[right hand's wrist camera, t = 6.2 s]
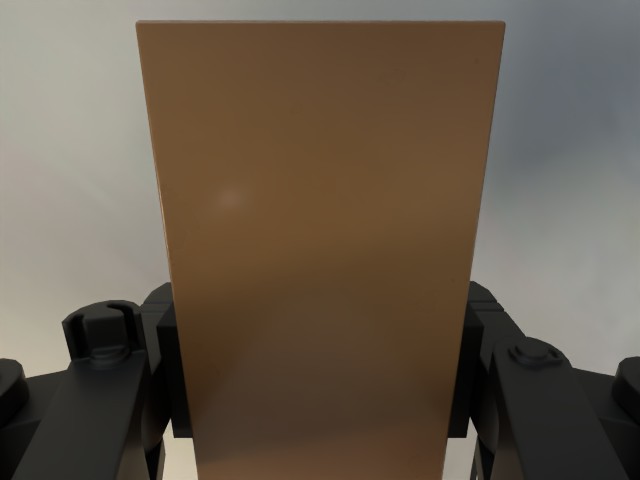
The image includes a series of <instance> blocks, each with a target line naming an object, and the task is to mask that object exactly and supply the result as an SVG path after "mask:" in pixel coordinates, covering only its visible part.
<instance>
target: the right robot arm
mask: <svg viewBox="0 0 640 480" xmlns="http://www.w3.org/2000/svg"><path fill="white" fill-rule="evenodd" d="M62 326H63V330H64V334H65V338H66V342H67V346H68V349H69V353H70V357H71V363H70V365H69V367H68V369H67V370H64V371H60V372H55V373H50V374H45V375H40V376H34V377H29V378H26V377H25V374H24V371H23V368H22V365H21V364H20V363H19V362H17V361H16V360H12V359H5V358H2V359H0V480H162V477H163V469H164V462H165V447H164V441H163V434H164V432H165V429H166V427H167V425H168V423H169V420H170V418H171V423H172V429H173V435H174V438H193V437H192V430H191V423H190V416H189V408H188V401H187V394H186V387H185V380H184V372H183V365H182V358H181V351H180V343H179V336H178V329H177V322H176V314H175V307H174V300H173V293H172V286H171V282H167V283H165V284H163V285H162V286H160V287H159V288H157V289H155V290H154V291H152V292H151V293H150V295H149V296H148V297H147V298H146V300H145V301H144V303H143V304H142V305H141V306H140V307H139V306H138V305H137V304H135V303H134V302H130V301H125V300H109V301H104V302H98V303H94V304H91V305H88V306H85V307H83V308H80V309H78V310H77V311H75V312H73V313H71V314H70V315H68V316H67V317H66V318H65V319H64V320H63V321H62ZM469 418H471V420H472V422H473V424H474V426H475V429H476V431H477V433H478V435H477V441H476V447H475V452H474V458H473V464H472V469H471V476H470V480H476V477H477V476H478V480H640V357H638V356H637V357H630V358H625V359H624V360H623V361H621V362H620V363H619V366H618V369H617V372H616V375H615V376H611V375H605V374H600V373H595V372H590V371H585V370H580V369H576V368H572V366H571V364H570V362H569V360H568V359H567V358H566V356H565V355H564V354H563V353H562V352H561V351H560V350H558V349H557V348H555V347H554V346H552V345H551V344H548V343H546V342H543V341H541V340H538V339H535V338H531V337H526V336H525V335H524V333H523V332H522V331H521V330H520V329H519V327H518V326H517V325H516V324H515V322H514V321H513V320H512V319H511V317H510V316H509V315H508V314H507V312H504V309H503V307H502V306H501V305H500V304H499V303H497V300H496V299H495V297H494V296H493V295H492V294H491V292H490V291H489V290H488V289H486V288H484V287H483V286H481V285H479V284H478V283H476V282H474V281H470V282H469V290H468V297H467V304H466V311H465V318H464V325H463V332H462V339H461V347H460V354H459V361H458V368H457V375H456V382H455V389H454V397H453V404H452V411H451V418H450V425H449V432H448V438H466V436H467V430H468V424H469Z"/></svg>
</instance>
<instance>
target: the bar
mask: <svg viewBox="0 0 640 480" xmlns="http://www.w3.org/2000/svg"><path fill="white" fill-rule="evenodd" d="M136 32H137V40H138V47H139V54H140V61H141V69H142V76H143V83H144V90H145V98H146V105H147V112H148V119H149V126H150V134H151V141H152V148H153V155H154V163H155V170H156V177H157V184H158V192H159V199H160V206H161V213H162V220H163V228H164V235H165V242H166V249H167V257H168V264H169V271H170V278H171V286H172V293H173V300H174V307H175V314H176V322H177V329H178V336H179V343H180V351H181V358H182V365H183V372H184V380H185V387H186V394H187V401H188V408H189V416H190V423H191V430H192V437H193V445H194V452H195V459H196V466H197V474H198V480H442V475H443V468H444V461H445V454H446V446H447V439H448V432H449V425H450V418H451V411H452V404H453V397H454V389H455V382H456V375H457V368H458V361H459V354H460V347H461V339H462V332H463V325H464V318H465V311H466V304H467V297H468V290H469V282H470V275H471V268H472V261H473V254H474V247H475V240H476V232H477V225H478V218H479V211H480V204H481V197H482V190H483V183H484V175H485V168H486V161H487V154H488V147H489V140H490V133H491V125H492V118H493V111H494V104H495V97H496V90H497V83H498V76H499V68H500V61H501V54H502V47H503V40H504V33H505V22H503V21H182V20H139V21H137V22H136Z"/></svg>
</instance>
